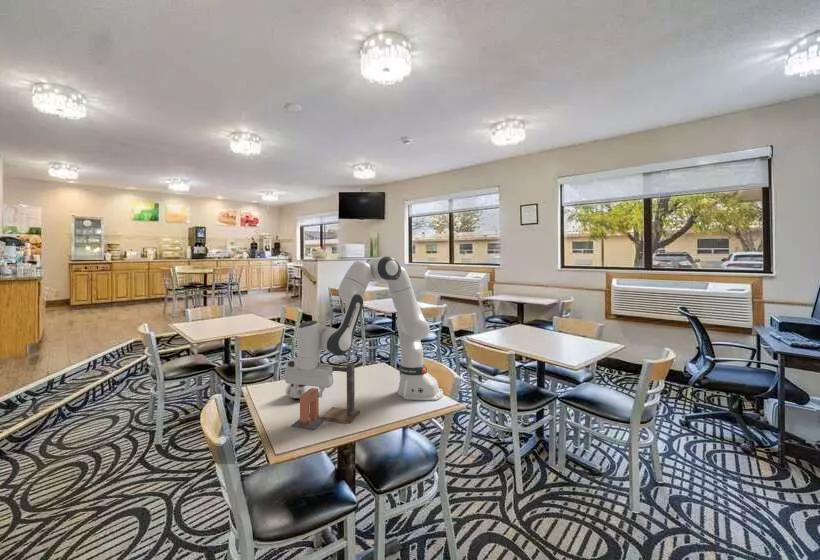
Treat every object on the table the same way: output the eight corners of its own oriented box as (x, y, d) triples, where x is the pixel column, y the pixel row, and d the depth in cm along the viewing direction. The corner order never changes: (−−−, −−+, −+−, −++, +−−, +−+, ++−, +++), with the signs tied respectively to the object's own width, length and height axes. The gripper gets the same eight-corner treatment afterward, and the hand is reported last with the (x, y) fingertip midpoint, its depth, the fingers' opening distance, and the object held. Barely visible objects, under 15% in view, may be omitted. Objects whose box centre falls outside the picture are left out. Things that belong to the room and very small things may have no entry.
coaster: (326, 418, 149) (326, 417, 149) (313, 429, 139) (313, 428, 139) (305, 415, 151) (305, 414, 151) (291, 426, 142) (291, 425, 142)
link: (318, 416, 149) (318, 388, 148) (306, 426, 140) (306, 396, 140) (312, 415, 150) (311, 387, 149) (300, 425, 141) (299, 395, 140)
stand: (360, 413, 154) (359, 361, 153) (350, 423, 145) (349, 368, 143) (324, 408, 159) (323, 358, 158) (312, 418, 149) (311, 365, 148)
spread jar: (305, 402, 166) (305, 377, 165) (280, 402, 166) (280, 377, 165) (312, 392, 178) (312, 369, 177) (289, 392, 178) (289, 369, 177)
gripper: (336, 361, 144) (336, 395, 145) (291, 357, 149) (291, 390, 150) (328, 366, 138) (328, 401, 139) (282, 362, 143) (282, 395, 144)
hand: (309, 395), depth 145 cm, fingers open, 8 cm apart
